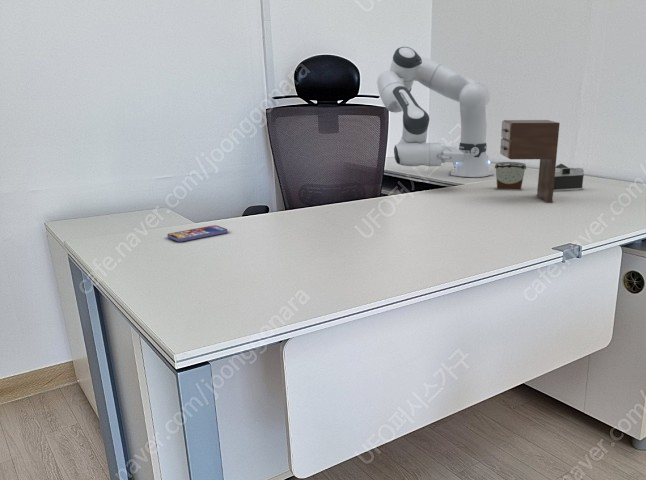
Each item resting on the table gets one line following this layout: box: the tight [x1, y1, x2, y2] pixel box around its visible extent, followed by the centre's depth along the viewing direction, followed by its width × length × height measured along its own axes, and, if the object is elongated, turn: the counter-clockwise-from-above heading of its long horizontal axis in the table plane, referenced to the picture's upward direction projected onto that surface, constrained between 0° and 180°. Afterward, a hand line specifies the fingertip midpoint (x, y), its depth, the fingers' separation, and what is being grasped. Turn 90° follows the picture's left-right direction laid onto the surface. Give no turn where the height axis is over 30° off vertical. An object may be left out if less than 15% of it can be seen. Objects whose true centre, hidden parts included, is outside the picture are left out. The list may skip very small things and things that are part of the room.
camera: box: [553, 163, 585, 192], centre depth 232 cm, size 16×9×10 cm, turn 108°
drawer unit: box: [499, 119, 561, 204], centre depth 210 cm, size 14×17×27 cm
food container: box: [494, 161, 527, 191], centre depth 233 cm, size 12×6×10 cm, turn 84°
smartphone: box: [166, 224, 228, 242], centre depth 164 cm, size 1×7×15 cm
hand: (471, 154), depth 230 cm, fingers open, 8 cm apart
